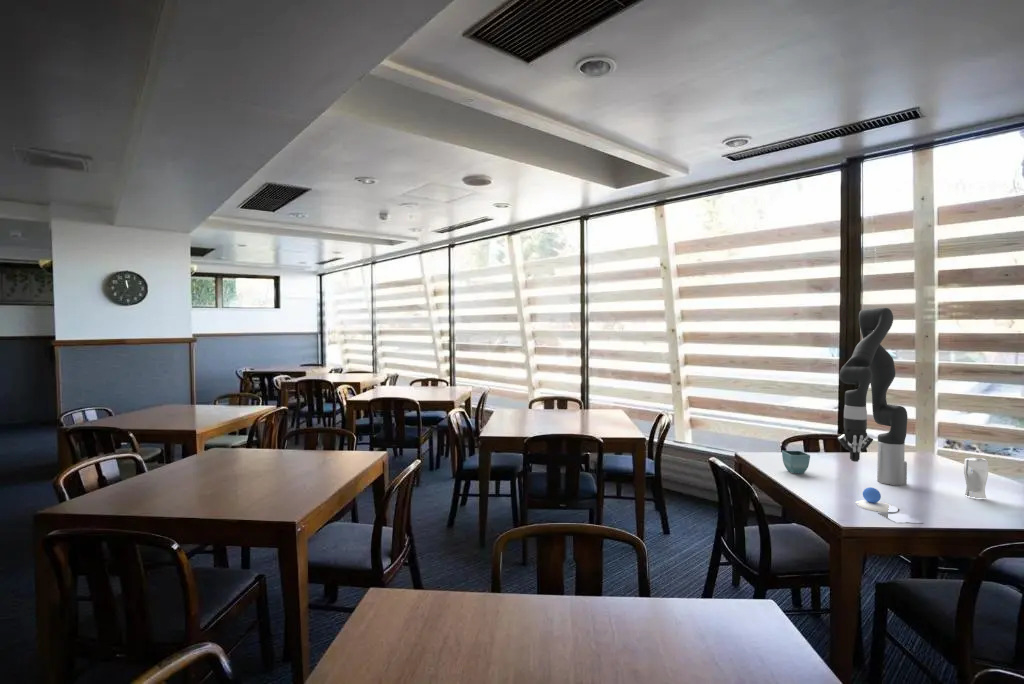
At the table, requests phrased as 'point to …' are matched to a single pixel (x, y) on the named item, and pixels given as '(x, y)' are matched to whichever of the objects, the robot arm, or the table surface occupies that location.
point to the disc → (874, 506)
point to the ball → (871, 495)
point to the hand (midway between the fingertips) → (854, 461)
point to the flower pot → (796, 461)
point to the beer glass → (975, 476)
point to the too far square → (884, 514)
